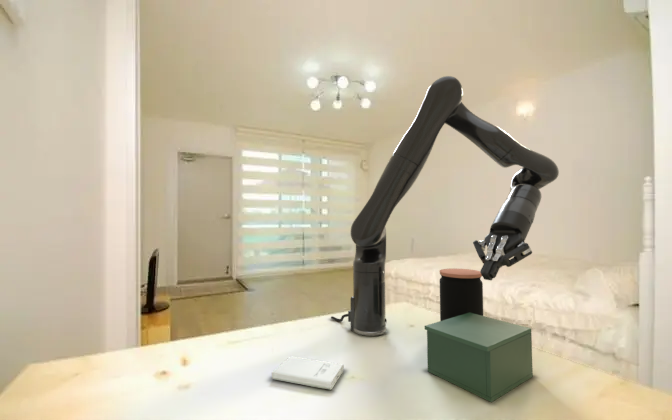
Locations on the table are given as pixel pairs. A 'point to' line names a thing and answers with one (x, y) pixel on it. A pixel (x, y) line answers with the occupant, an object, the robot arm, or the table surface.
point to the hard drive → (308, 372)
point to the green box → (481, 364)
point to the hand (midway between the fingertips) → (486, 277)
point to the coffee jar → (460, 293)
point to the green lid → (478, 330)
